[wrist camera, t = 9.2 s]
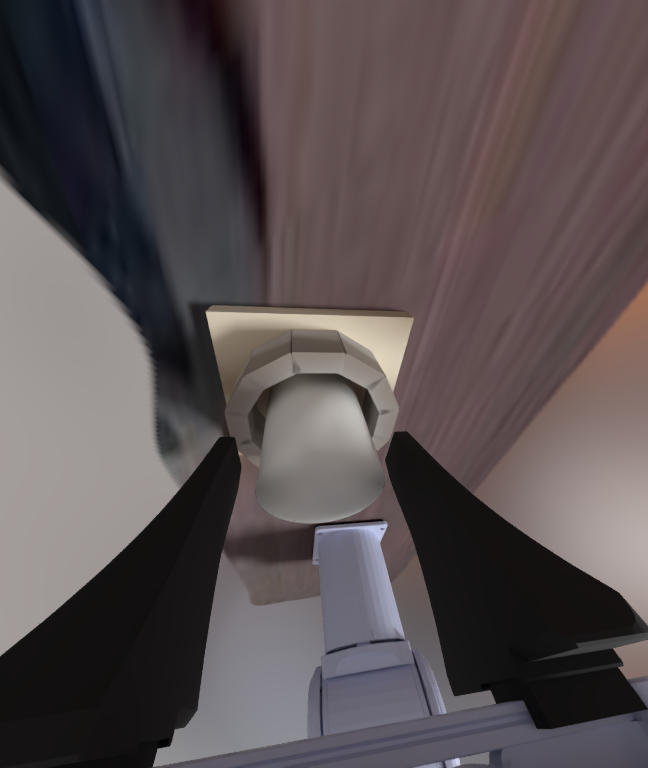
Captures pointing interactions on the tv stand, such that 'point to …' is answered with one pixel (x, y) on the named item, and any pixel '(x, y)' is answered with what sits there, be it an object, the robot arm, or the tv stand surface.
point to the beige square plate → (305, 361)
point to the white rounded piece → (316, 451)
